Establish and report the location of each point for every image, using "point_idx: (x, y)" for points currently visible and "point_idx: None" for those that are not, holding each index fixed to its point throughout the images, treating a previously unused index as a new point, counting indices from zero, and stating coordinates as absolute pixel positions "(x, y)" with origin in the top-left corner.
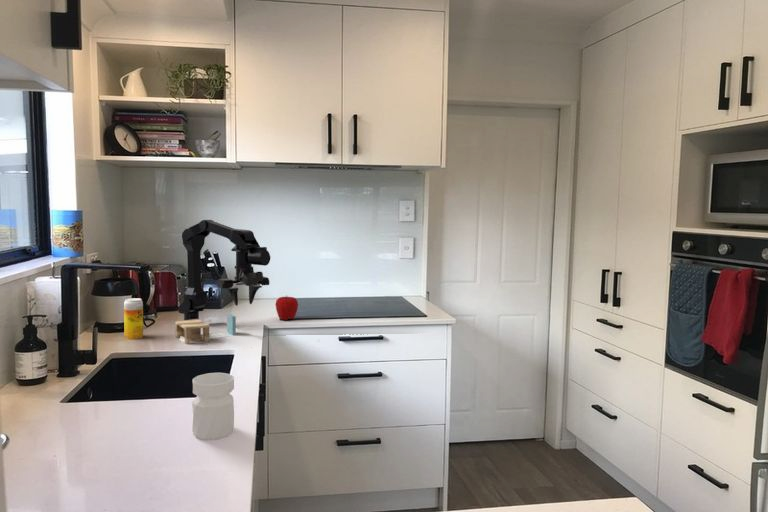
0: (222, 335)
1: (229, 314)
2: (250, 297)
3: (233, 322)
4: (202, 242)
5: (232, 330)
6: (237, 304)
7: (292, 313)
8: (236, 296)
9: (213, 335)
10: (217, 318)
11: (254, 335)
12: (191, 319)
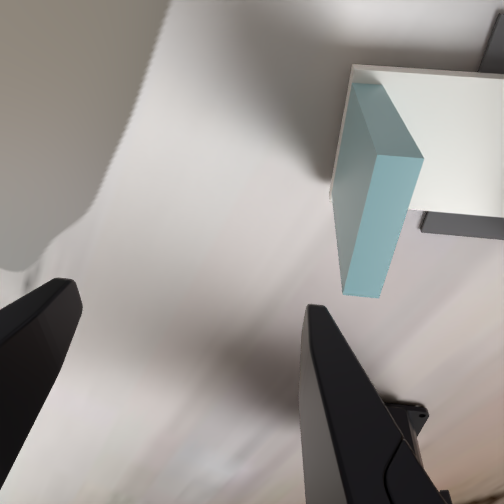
0: (446, 135)
1: (361, 284)
2: (13, 385)
3: (395, 126)
4: None
5: (390, 99)
6: (310, 312)
7: None
8: (368, 453)
9: (497, 177)
10: (201, 461)
11: (167, 84)
12: (414, 452)
